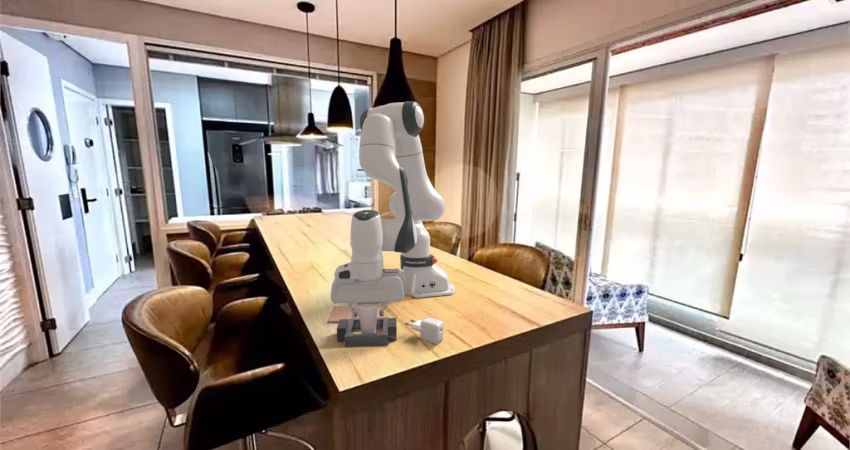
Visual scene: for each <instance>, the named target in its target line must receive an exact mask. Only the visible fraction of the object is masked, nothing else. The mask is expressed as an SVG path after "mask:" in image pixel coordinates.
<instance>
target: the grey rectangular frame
mask: <svg viewBox="0 0 850 450" xmlns="http://www.w3.org/2000/svg"><path fill="white" fill-rule="evenodd" d="M397 328H398V327H397V317H388V316H381V317H379V316H377V321H376V330H382V332H375V333H364V334H362V333H354V331H355V330H361V325H360V319H359V318H349V322H348V319H340V321H339V323H337V327H336V342H337V343H344V348H349V347H354V348H355V347H377V346H378V347H379V346H388V345H389V341H397V337H398V336H397V333H398V332H397Z"/></svg>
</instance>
